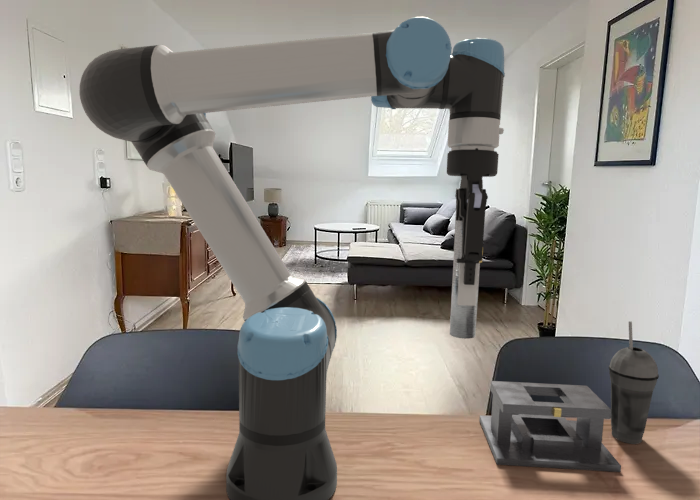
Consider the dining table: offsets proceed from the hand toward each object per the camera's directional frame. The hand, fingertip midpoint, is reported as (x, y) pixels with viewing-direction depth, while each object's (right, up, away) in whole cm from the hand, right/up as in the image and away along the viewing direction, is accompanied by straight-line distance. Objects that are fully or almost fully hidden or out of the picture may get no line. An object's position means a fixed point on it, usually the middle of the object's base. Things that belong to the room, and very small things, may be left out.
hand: (464, 301), depth 77 cm
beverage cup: (+29, -24, +6) cm, 38 cm away
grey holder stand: (+14, -24, +3) cm, 28 cm away
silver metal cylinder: (0, -5, +1) cm, 5 cm away
